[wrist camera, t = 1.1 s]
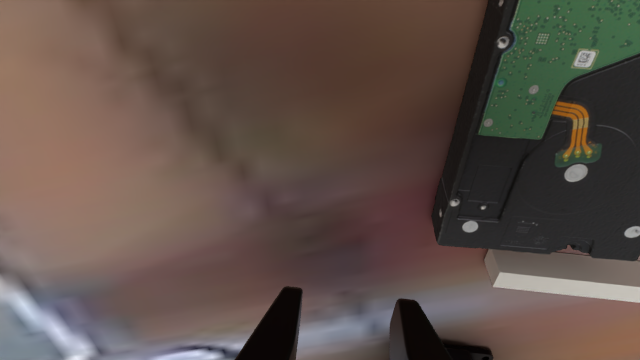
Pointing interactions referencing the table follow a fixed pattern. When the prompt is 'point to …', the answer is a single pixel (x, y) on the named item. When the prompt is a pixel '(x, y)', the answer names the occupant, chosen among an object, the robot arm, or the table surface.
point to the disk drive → (548, 133)
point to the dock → (565, 274)
